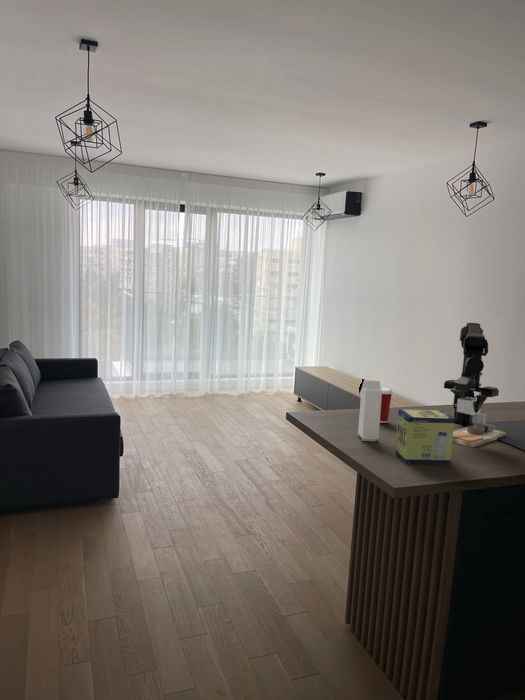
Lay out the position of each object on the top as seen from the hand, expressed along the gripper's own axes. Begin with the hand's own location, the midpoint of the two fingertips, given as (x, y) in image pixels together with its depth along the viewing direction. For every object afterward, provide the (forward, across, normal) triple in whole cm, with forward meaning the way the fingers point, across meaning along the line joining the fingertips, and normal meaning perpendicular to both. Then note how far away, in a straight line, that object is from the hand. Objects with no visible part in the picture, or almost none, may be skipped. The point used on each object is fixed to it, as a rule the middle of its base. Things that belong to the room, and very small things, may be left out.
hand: (468, 410), depth 198 cm
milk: (+12, -22, -30) cm, 39 cm away
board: (+12, -1, +8) cm, 14 cm away
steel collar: (0, 0, 0) cm, 0 cm away
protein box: (+12, +2, -32) cm, 34 cm away
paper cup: (+12, -35, -5) cm, 37 cm away
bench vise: (+10, -1, +14) cm, 17 cm away
